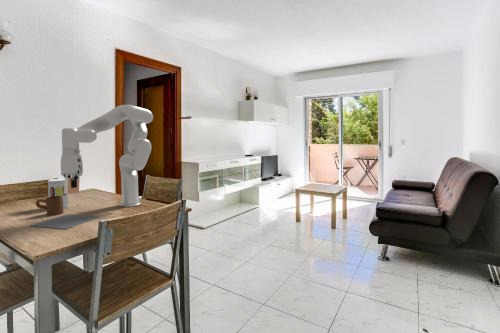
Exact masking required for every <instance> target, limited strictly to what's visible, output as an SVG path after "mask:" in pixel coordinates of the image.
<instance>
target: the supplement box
mask: <svg viewBox="0 0 500 333" xmlns="http://www.w3.org/2000/svg"><path fill="white" fill-rule="evenodd" d="M64 182H65V178H53V179H51V178H50V179H48V182H47V183H48V188H47V190H48V192H47V194H48V196H47V197H52V196H62V197H63V209H68V208H69V195H68V194H66V193H64Z"/></svg>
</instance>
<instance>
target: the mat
mask: <svg viewBox="0 0 500 333" xmlns="http://www.w3.org/2000/svg"><path fill="white" fill-rule="evenodd" d="M96 219H99V216H89V215H77V214H63V215H61V216H58V217H53V218H50V219H48V220H43V221H41V222H37V223H33V224H31V225H30V226H29V227H31V228H32V227H34V228H45V229H58V230H59V229H60V230H69V229H71V228H73V227H76V226H79V225H82V224H84V223H87V222H89V221H93V220H96Z"/></svg>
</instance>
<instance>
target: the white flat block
mask: <svg viewBox="0 0 500 333" xmlns="http://www.w3.org/2000/svg"><path fill="white" fill-rule="evenodd" d="M64 179H65V182H64V193H66V194H77V193H80V177H79V178H78V180H77V187H75V188H71V180H72V177H71V178H65V177H64Z"/></svg>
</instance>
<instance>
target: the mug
mask: <svg viewBox="0 0 500 333" xmlns="http://www.w3.org/2000/svg"><path fill="white" fill-rule="evenodd" d="M41 203H45V204H41ZM35 205H36V207H37V208H38V209H43V210H46V215H47V216H59V215H62V214H63V215H64V208H63V197H62V196H52V197H49V196H47V197H45V199H44V198H40V199H37V200H36V201H35Z"/></svg>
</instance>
